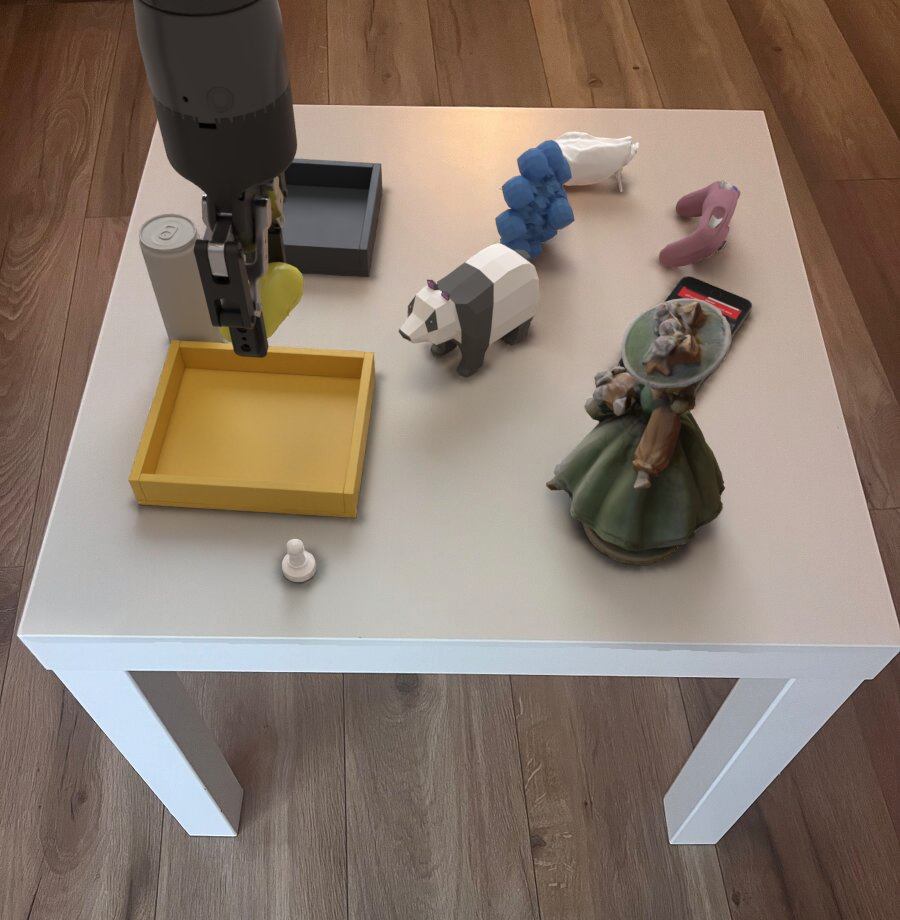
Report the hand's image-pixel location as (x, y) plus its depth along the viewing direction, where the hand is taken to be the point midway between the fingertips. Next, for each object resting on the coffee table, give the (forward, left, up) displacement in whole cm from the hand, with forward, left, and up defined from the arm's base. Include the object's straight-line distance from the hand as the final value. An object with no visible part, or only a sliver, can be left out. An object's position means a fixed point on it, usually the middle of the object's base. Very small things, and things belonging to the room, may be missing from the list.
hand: (262, 312), depth 63 cm
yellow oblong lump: (0, 0, -1) cm, 1 cm away
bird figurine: (+24, +40, -16) cm, 50 cm away
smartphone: (+34, +17, -16) cm, 41 cm away
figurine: (+28, -2, -16) cm, 32 cm away
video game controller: (+36, +31, -16) cm, 50 cm away
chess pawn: (+2, -11, -16) cm, 19 cm away
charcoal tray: (-4, +30, -16) cm, 34 cm away
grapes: (+20, +27, -16) cm, 37 cm away
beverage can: (-10, +13, -16) cm, 23 cm away
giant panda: (+14, +14, -16) cm, 25 cm away
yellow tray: (-3, +2, -16) cm, 16 cm away
